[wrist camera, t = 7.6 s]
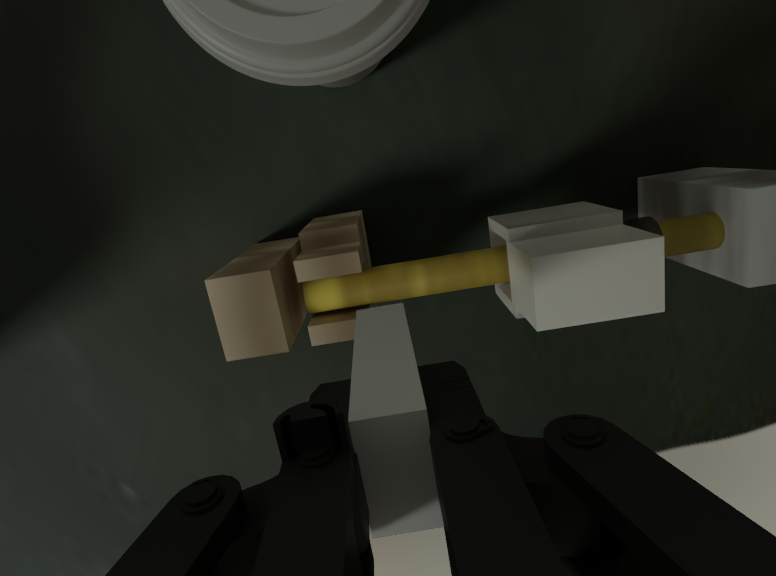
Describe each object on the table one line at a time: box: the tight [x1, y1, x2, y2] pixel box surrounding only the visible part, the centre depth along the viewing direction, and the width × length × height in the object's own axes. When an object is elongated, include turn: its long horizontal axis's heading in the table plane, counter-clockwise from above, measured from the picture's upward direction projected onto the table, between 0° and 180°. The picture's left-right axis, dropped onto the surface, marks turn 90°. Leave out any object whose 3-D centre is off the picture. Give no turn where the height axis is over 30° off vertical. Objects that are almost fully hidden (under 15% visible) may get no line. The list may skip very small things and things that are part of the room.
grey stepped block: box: [488, 201, 665, 331], centre depth 22 cm, size 5×4×7 cm
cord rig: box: [204, 167, 776, 361], centre depth 26 cm, size 28×6×10 cm, turn 99°
